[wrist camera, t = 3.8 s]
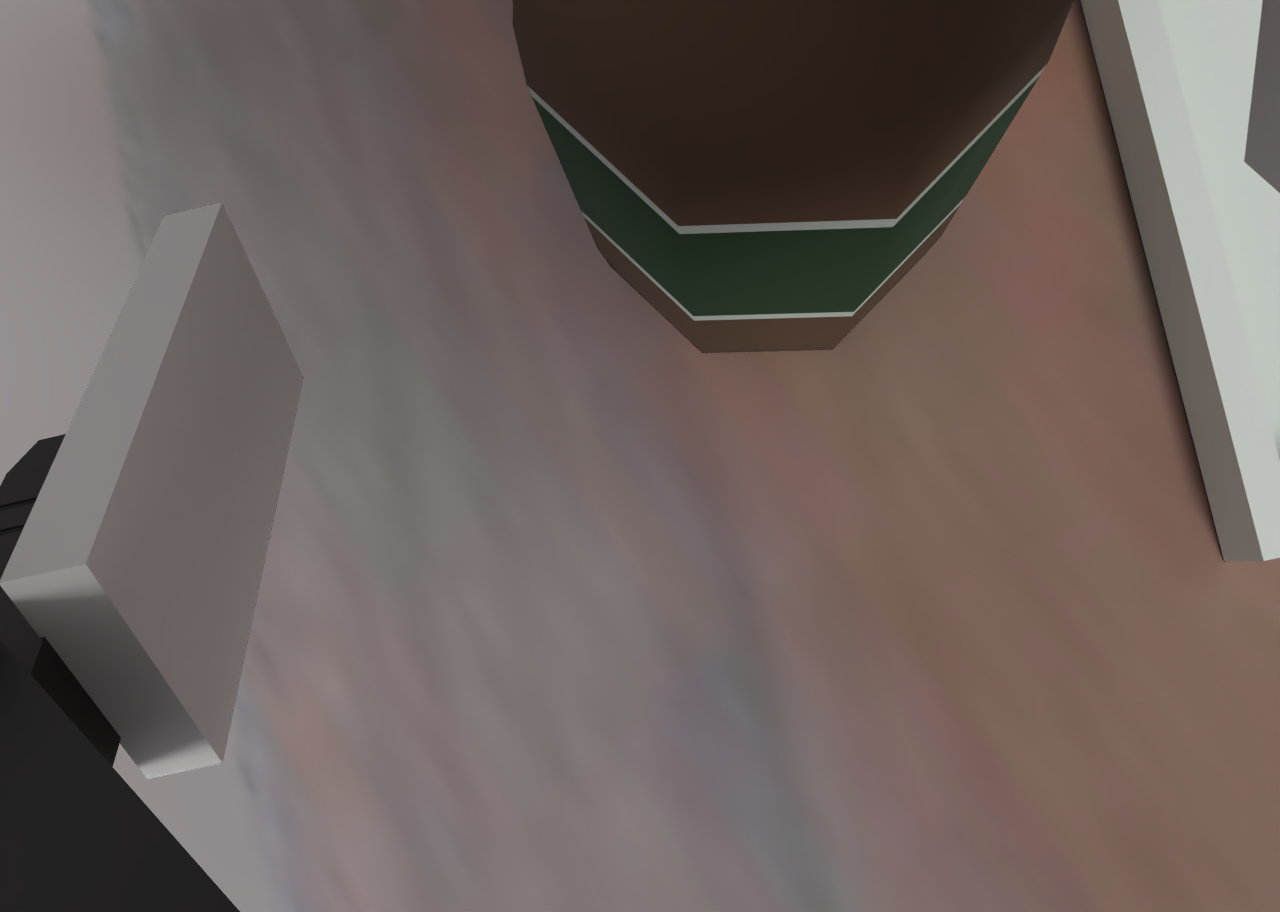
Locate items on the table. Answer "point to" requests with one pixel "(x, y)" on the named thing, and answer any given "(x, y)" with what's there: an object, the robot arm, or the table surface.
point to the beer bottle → (776, 144)
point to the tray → (1205, 237)
